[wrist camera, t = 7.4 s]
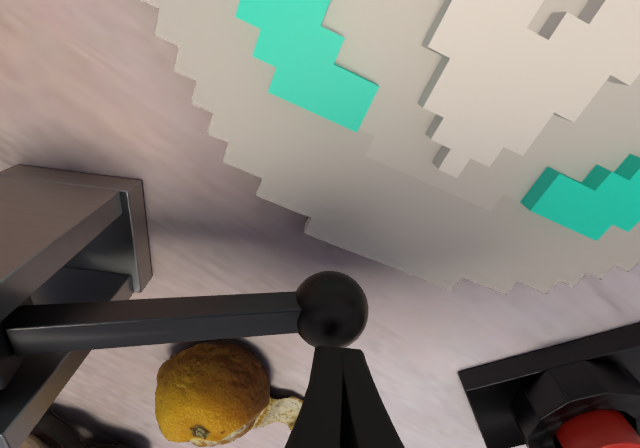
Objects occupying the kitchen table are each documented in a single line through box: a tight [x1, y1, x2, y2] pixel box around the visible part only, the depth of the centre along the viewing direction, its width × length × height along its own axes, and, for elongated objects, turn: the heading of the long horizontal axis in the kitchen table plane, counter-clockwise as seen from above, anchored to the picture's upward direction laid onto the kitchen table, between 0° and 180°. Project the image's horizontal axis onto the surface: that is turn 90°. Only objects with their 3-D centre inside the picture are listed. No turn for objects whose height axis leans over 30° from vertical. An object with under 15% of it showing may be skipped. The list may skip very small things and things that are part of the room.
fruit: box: [155, 339, 303, 447], centre depth 19 cm, size 8×8×4 cm
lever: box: [0, 271, 368, 390], centre depth 12 cm, size 14×3×3 cm, turn 82°
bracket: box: [0, 165, 152, 448], centre depth 12 cm, size 5×6×8 cm
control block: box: [458, 323, 640, 448], centre depth 19 cm, size 10×6×3 cm, turn 114°
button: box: [556, 409, 640, 448], centre depth 17 cm, size 3×3×2 cm
